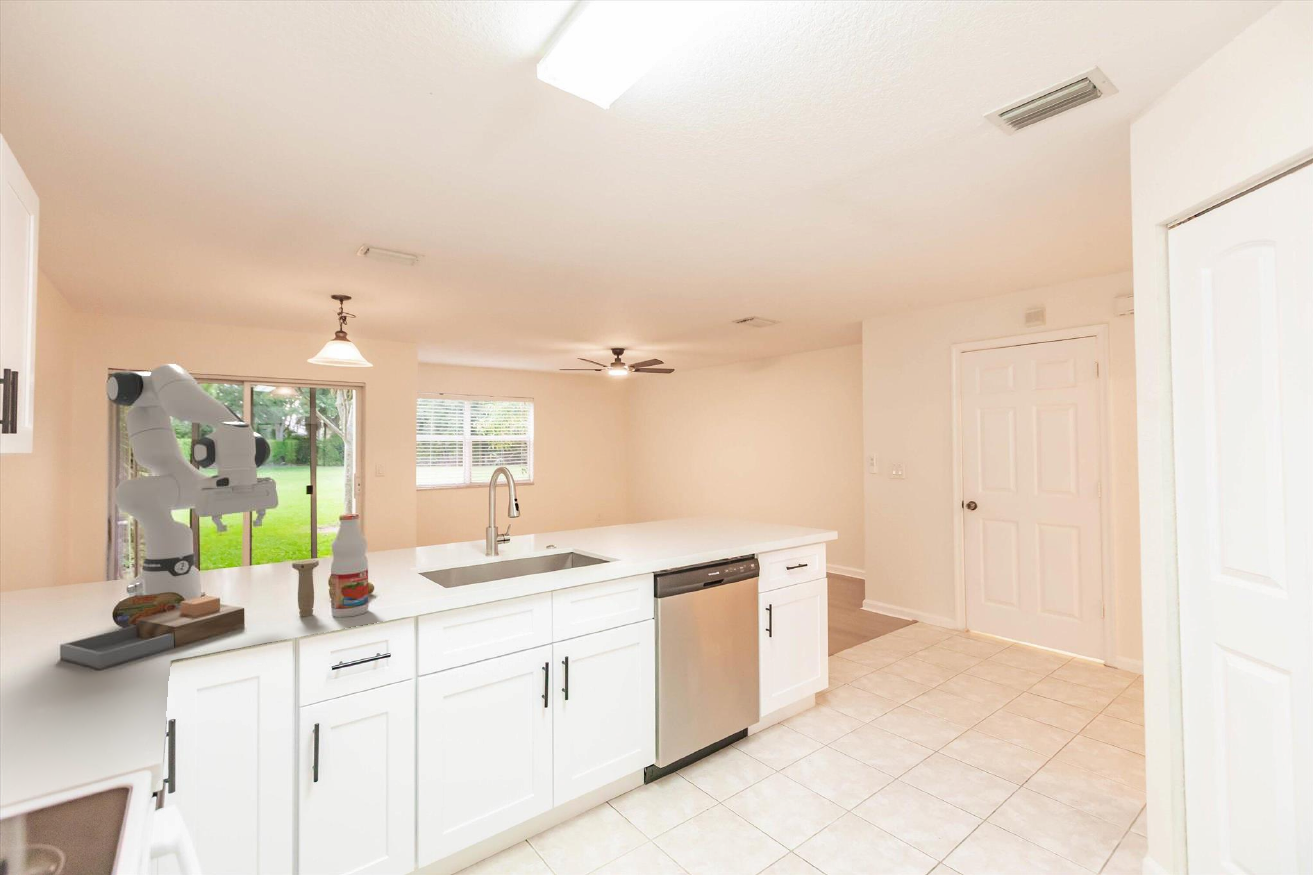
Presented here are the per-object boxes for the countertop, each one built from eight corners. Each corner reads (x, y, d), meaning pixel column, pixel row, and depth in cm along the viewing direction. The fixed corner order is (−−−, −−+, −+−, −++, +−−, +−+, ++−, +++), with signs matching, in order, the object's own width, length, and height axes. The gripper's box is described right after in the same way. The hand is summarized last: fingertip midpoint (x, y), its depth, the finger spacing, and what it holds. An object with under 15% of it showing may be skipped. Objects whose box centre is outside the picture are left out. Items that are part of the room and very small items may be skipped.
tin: (112, 631, 151) (111, 599, 151) (116, 627, 154) (116, 596, 154) (184, 622, 158) (184, 591, 158) (187, 618, 161) (187, 588, 161)
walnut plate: (136, 639, 144) (136, 619, 144) (206, 619, 159) (206, 601, 159) (175, 647, 138) (174, 626, 138) (244, 626, 153) (244, 607, 153)
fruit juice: (352, 606, 171) (351, 512, 171) (376, 609, 167) (374, 513, 167) (323, 615, 162) (322, 516, 162) (348, 619, 159) (346, 517, 158)
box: (60, 659, 131) (60, 644, 131) (135, 639, 144) (134, 625, 144) (99, 670, 125) (99, 654, 125) (173, 648, 138) (173, 633, 138)
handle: (315, 616, 161) (315, 563, 161) (290, 618, 160) (289, 564, 160) (321, 611, 166) (321, 559, 166) (296, 613, 165) (296, 560, 164)
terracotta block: (180, 613, 149) (180, 601, 149) (205, 606, 155) (205, 595, 155) (194, 615, 147) (194, 604, 147) (220, 609, 152) (220, 597, 152)
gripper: (267, 477, 171) (270, 523, 171) (190, 482, 152) (192, 534, 152) (282, 476, 169) (284, 523, 169) (205, 482, 150) (207, 535, 150)
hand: (240, 529), depth 160 cm, fingers open, 8 cm apart
